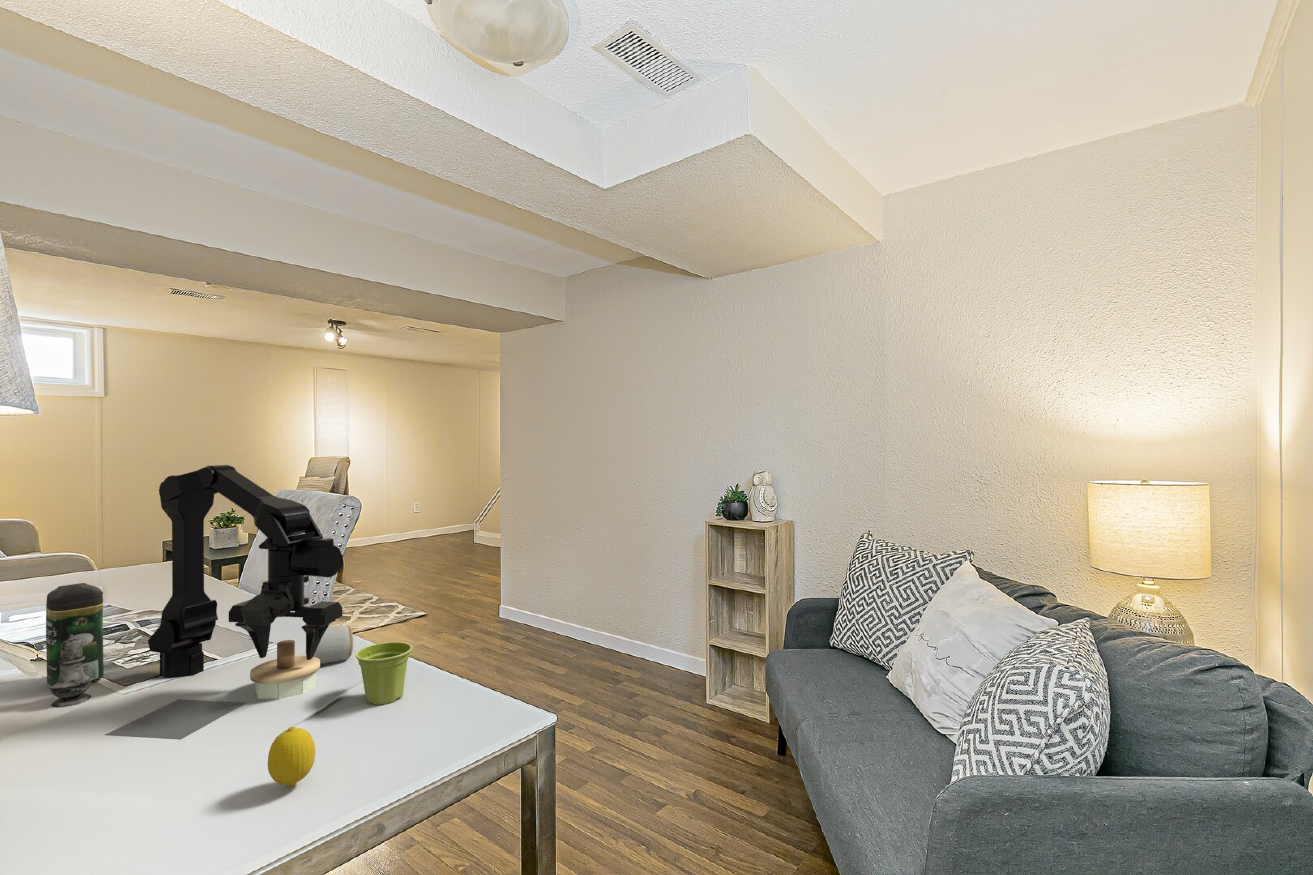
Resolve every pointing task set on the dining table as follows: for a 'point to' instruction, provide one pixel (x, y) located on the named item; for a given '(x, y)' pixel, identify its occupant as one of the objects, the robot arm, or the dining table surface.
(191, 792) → the dining table surface
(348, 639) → the ceramic mug
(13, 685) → the dining table surface
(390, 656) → the plant pot
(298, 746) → the lemon
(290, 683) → the bowl
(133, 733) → the mat
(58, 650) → the coffee jar
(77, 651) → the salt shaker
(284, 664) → the lid
